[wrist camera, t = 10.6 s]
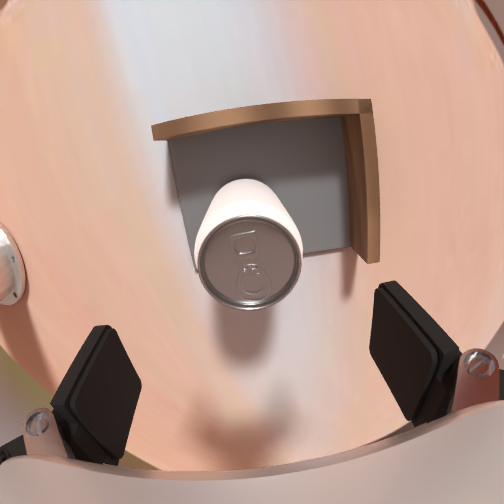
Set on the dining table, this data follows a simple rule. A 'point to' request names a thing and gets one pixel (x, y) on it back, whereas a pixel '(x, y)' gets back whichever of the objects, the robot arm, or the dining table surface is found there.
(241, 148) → the mat
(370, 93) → the dining table surface
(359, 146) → the corner walls
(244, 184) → the can
